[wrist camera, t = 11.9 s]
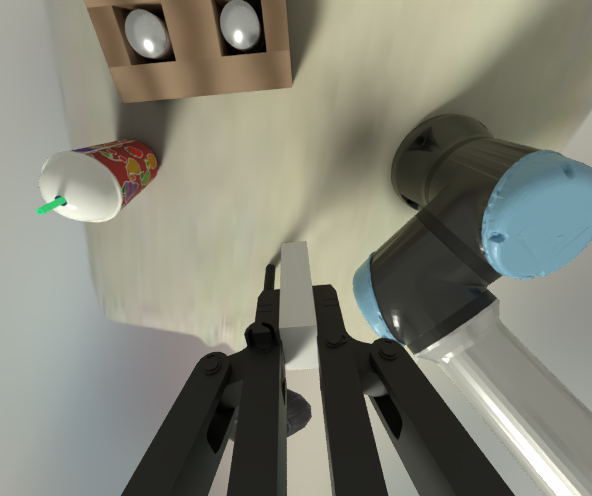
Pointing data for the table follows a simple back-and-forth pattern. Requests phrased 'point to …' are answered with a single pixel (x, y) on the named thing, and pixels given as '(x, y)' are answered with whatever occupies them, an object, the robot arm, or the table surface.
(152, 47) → the peg
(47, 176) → the smoothie
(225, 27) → the peg
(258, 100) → the table surface
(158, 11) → the block
